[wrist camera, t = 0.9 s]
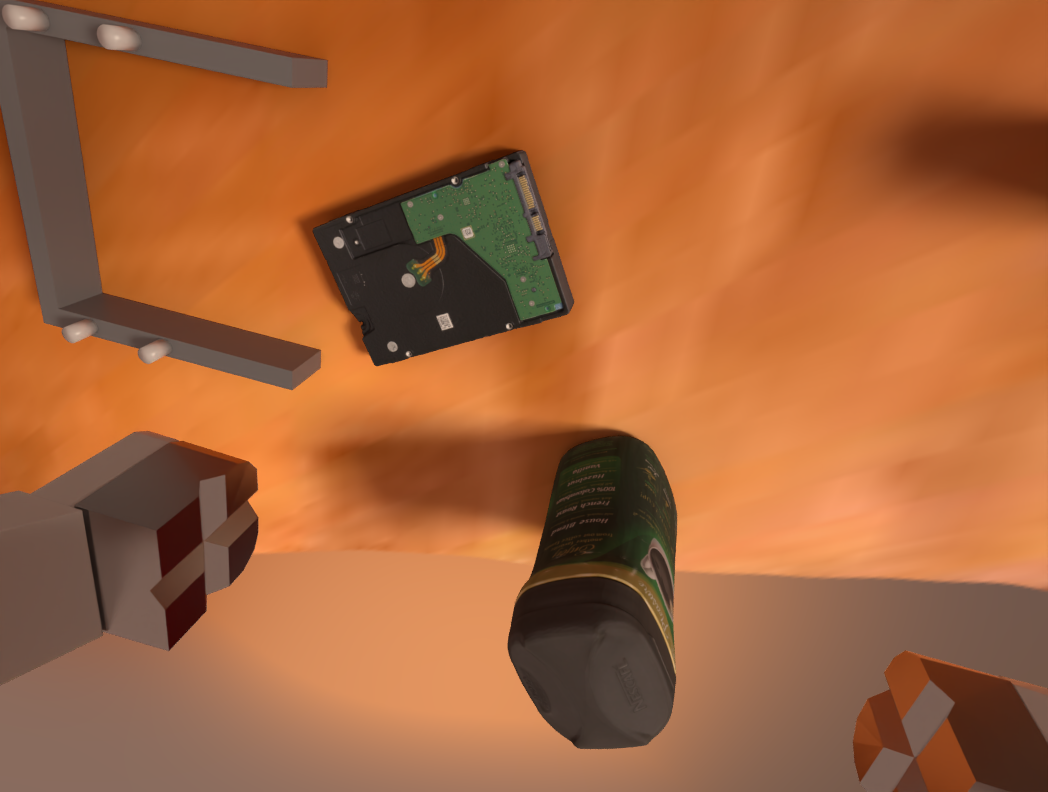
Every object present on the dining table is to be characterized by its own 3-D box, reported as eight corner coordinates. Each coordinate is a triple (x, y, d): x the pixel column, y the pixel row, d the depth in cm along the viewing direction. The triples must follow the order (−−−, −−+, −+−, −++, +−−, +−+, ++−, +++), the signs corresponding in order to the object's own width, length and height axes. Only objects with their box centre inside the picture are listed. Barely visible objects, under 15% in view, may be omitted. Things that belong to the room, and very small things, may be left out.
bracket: (38, 0, 40) (-54, -12, 35) (327, 60, 38) (273, 56, 33) (88, 306, 50) (22, 331, 45) (320, 368, 48) (278, 401, 43)
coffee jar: (545, 446, 47) (474, 638, 31) (649, 420, 44) (631, 616, 28) (590, 548, 50) (547, 772, 34) (689, 530, 47) (694, 764, 31)
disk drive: (392, 355, 47) (579, 301, 42) (375, 370, 45) (572, 315, 40) (329, 221, 43) (525, 143, 38) (307, 229, 41) (514, 148, 36)
